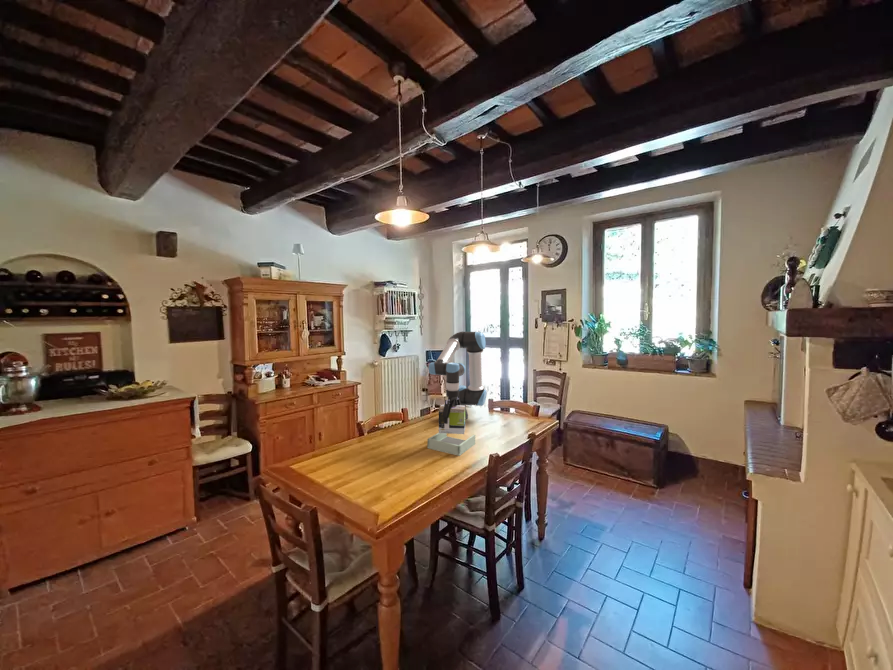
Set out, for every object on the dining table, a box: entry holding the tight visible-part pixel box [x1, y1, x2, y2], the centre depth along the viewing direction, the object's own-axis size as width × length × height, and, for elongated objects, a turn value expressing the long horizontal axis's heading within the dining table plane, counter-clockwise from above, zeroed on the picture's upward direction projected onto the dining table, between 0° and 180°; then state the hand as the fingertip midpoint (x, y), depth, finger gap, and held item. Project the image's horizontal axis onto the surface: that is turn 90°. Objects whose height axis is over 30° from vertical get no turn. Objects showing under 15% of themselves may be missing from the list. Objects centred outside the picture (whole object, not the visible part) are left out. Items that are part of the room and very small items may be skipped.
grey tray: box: [427, 432, 476, 457], centre depth 214 cm, size 20×21×6 cm
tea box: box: [438, 404, 466, 435], centre depth 214 cm, size 15×10×15 cm
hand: (452, 425), depth 214 cm, fingers closed on tea box, 12 cm apart
